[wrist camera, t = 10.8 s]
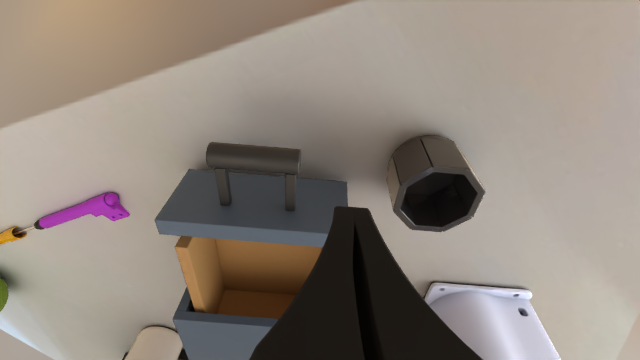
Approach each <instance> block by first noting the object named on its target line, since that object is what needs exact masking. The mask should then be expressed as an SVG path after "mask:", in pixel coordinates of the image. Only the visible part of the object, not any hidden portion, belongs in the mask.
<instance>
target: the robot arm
mask: <svg viewBox="0 0 640 360" xmlns="http://www.w3.org/2000/svg"><path fill="white" fill-rule="evenodd" d="M531 297H532V293H531V292H530V291H529V290H522V289H510V288H497V287H485V286H472V285H460V284H448V283H433V284H431V286H430V288H429V290H428V292H427V294H426V297H425V299H423V298H422V297H421V295H420V294H419V293H418V292H417V290H416V289H415V288H414V286H413V285H412V284H411V282H410V281H409V280H408V278H407V277H406V276H405V274H404V273H403V271H402V270H401V268H400V267H399V265H398V264H397V262H396V261H395V259H394V257H393V256H392V254H391V252H390V251H389V249H388V247H387V245H386V244H385V242H384V240H383V238H382V236H381V234H380V232H379V230H378V228H377V226H376V224H375V222H374V220H373V218H372V215H371V213H370V211H369V209H368V208H356V207H344V206H336V207H335V208H334V213H333V221H332V224H331V228H330V231H329V234H328V236H327V239H326V241H325V244H324V246H323V248H322V251H321V253H320V255H319V257H318V259H317V261H316V263H315V265H314V267H313V269H312V270H311V272H310V274H309V276H308V277H307V279H306V281H305V282H304V284H303V286H302V287H301V289H300V290H299V292H298V293H297V295H296V296H295V298H294V299H293V301H292V302H291V304H290V305H289V306H288V308H287V309H286V310H285V312H284V313H283V314H282V316H281V317H280V318H279V320H278V321H277V322H276V323H275V325H274V326H273V327H272V328H271V329H270V330H269V332H268V333H267V334H266V335H265V336H264V337H263V339H262V340H261V341H260V342H259V343H258V344H257V346H256V347H255V349H254V351H253V353H252V355H251V357H250V359H249V360H561V359H560V357H559V355H558V353H557V351H556V349H555V348H554V346H553V344H552V342H551V340H550V338H549V337H548V335H547V333H546V331H545V329H544V327H543V326H542V324H541V322H540V320H539V318H538V316H537V315H536V313H535V311H534V309H533V307H532V305H531V304H530V302H529V299H530V298H531Z"/></svg>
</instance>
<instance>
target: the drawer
mask: <svg viewBox="0 0 640 360" xmlns="http://www.w3.org/2000/svg"><path fill="white" fill-rule="evenodd" d="M206 161H207V165H208V166H209V167H212V168H214V170H215V171H207V170H194V169H189V170H188V172H187V173H186V175H185V176H184V177H183V179H182V180H181V182H180V183H179V185H178V186H177V188H176V189H175V191H174V192H173V194H172V195H171V197H170V198H169V199H168V201H167V202H166V204H165V205H164V207H163V208H162V210H161V211H160V213H159V214H158V216H157V217H156V219H155V223H156V226H157V229H158V232H159V234H164V235H176V236H181V237H180V239H179V240H178V242H177V244H176V246H175V249H176V252H177V255H178V258H179V262H180V265H181V268H182V271H183V274H184V278H185V281H186V284H187V287H188V290H189V293H190V297H191V300H192V303H193V306H194V309H195V312H199V313H212V314H224V315H237V316H249V317H262V318H275V319H279V318H280V317H281V316H282V314H283V313H284V312H285V310H286V309H287V308H288V306H289V305H290V304H291V302H292V301H293V299H294V298H295V296H296V295H297V293H298V292H299V290H300V289H301V287H302V286H303V284H304V282H305V281H306V279H307V277H308V276H309V274H310V272H311V270H312V269H313V267H314V265H315V263H316V261H317V259H318V257H319V255H320V253H321V251H322V248H323V246H324V244H325V241H326V239H327V236H328V234H329V231H330V228H331V224H332V221H333V213H334V208H335V207H336V206H344V207H348V198H347V182H343V181H330V180H318V179H306V178H296V176H297V174H299V173H300V166H301V150H300V149H291V148H278V147H266V146H254V145H241V144H229V143H216V142H211V143H209V145H208V147H207V151H206ZM228 169H237V170H249V171H261V172H274V173H285V177H281V176H269V175H256V174H244V173H231V172H228Z"/></svg>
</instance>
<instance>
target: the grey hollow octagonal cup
mask: <svg viewBox="0 0 640 360" xmlns="http://www.w3.org/2000/svg"><path fill="white" fill-rule="evenodd" d="M387 184H388V188H389V193H390V198H391V203H392V207H393V211H394V213H395V214H396V215H397V216H398V217H399V218H400V219H401V220H402V221H403V222H404V223H405V224H406V225H407V226H408V227H409V228H410V229H412V230H421V231H434V232H442V231H443V232H444V231H446V230H448V229H450V228H452V227H455V226H457V225H459V224H461V223H463V222H465V221H467V220H469V219H471V218H472V217H474V215H475V213H476V211H477V209H478V207H479V205H480V203H481V201H482V199H483V197H484V195H485V189H484V187H483V185H482V184H481V182H480V181H479V179H478V177H477V176H476V174H475V173H474V171H473V169H472V168H471V166H470V164H469V163H468V161H467V160H466V158H465V157H464V155H463V154H462V153H461V151H460V150H459V148H458V147H457V145H456V144H455V143H454V141H452V140H449V139H447V138H445V137H441V136H436V135H426V136H420V137H416V138H413V139H411V140H409V141H407V142H405V143H404V144H403V145H401V146H400V147H399V148H398V149H397V150H396V151H395V152H394V153H393V155H392V156H391V159H390V161H389V164H388V175H387Z"/></svg>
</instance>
